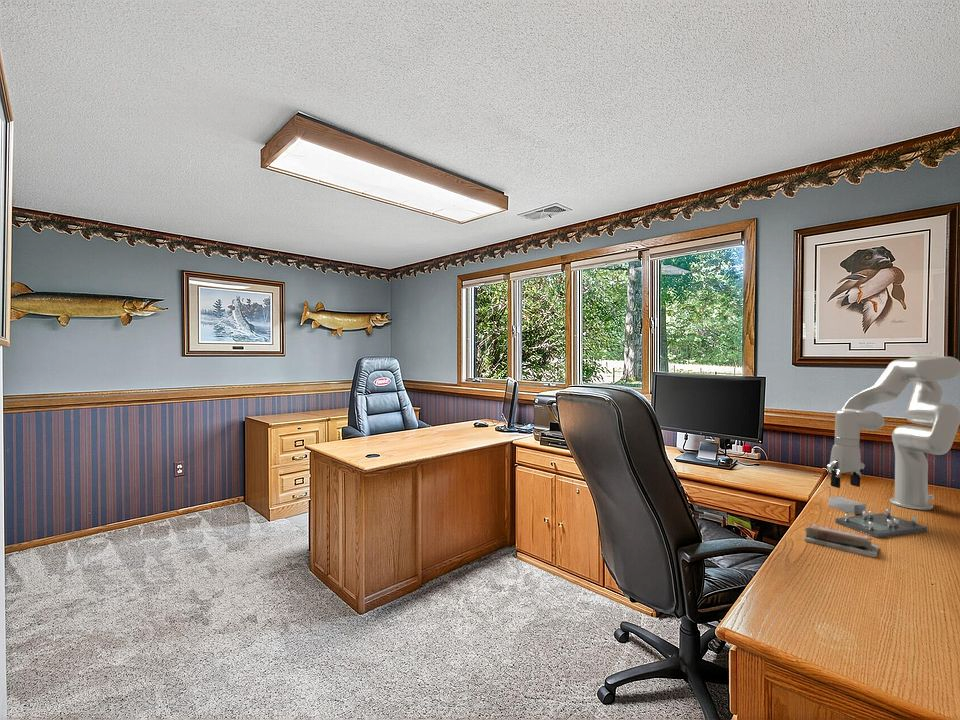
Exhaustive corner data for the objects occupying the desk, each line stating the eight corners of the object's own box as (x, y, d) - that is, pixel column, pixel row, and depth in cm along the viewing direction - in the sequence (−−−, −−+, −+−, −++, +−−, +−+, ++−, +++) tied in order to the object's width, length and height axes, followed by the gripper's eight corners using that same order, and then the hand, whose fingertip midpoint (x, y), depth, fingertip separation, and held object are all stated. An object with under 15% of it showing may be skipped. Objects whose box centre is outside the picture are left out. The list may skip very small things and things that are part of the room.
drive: (840, 506, 182) (840, 495, 182) (865, 514, 172) (866, 503, 172) (828, 507, 181) (828, 496, 180) (854, 515, 171) (854, 505, 171)
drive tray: (882, 516, 169) (882, 506, 169) (927, 531, 155) (927, 519, 155) (835, 522, 163) (835, 511, 163) (877, 538, 150) (877, 525, 150)
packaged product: (803, 527, 148) (809, 519, 155) (803, 542, 148) (809, 533, 155) (876, 543, 135) (879, 534, 142) (876, 559, 135) (879, 549, 142)
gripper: (854, 440, 181) (852, 482, 182) (819, 441, 177) (818, 484, 178) (874, 443, 174) (872, 488, 174) (838, 444, 170) (837, 490, 170)
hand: (845, 486), depth 176 cm, fingers open, 9 cm apart
